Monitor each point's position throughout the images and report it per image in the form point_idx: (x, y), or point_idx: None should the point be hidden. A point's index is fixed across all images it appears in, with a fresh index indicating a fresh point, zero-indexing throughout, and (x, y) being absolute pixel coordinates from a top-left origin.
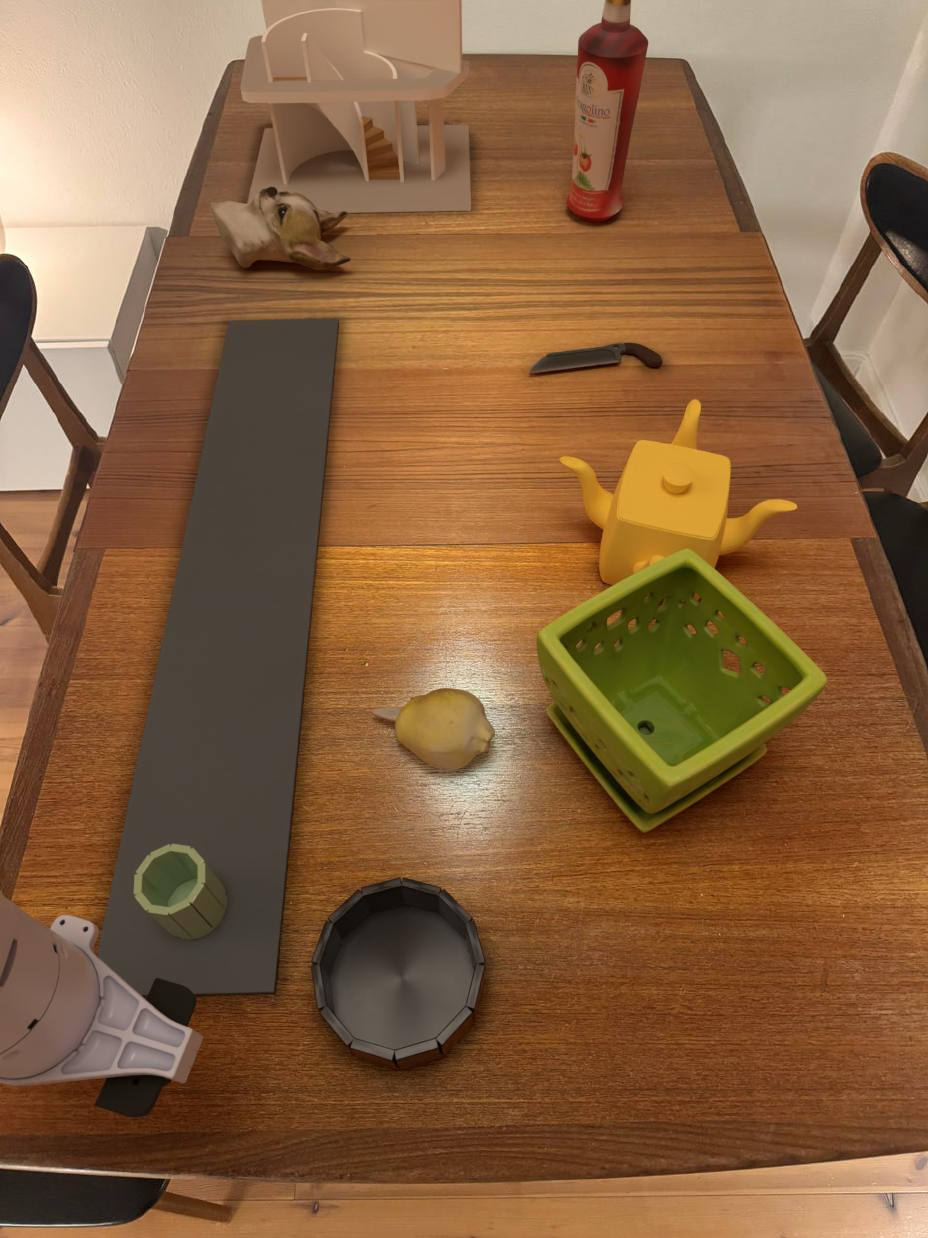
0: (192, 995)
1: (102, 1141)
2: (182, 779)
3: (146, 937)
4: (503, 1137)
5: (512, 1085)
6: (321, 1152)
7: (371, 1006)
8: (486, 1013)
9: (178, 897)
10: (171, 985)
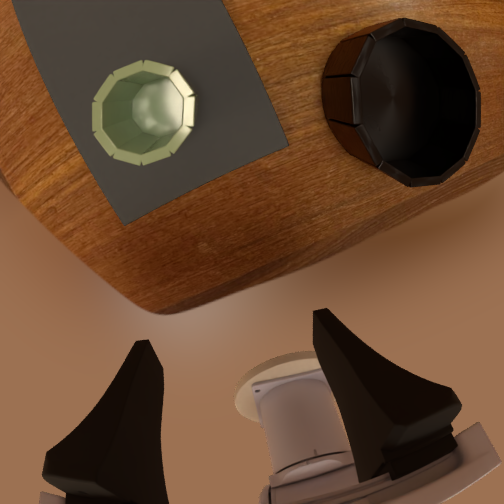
0: (460, 403)
1: (210, 293)
2: (71, 12)
3: None
4: (462, 180)
5: None
6: (367, 232)
7: (377, 127)
8: None
9: (141, 109)
10: (431, 419)
